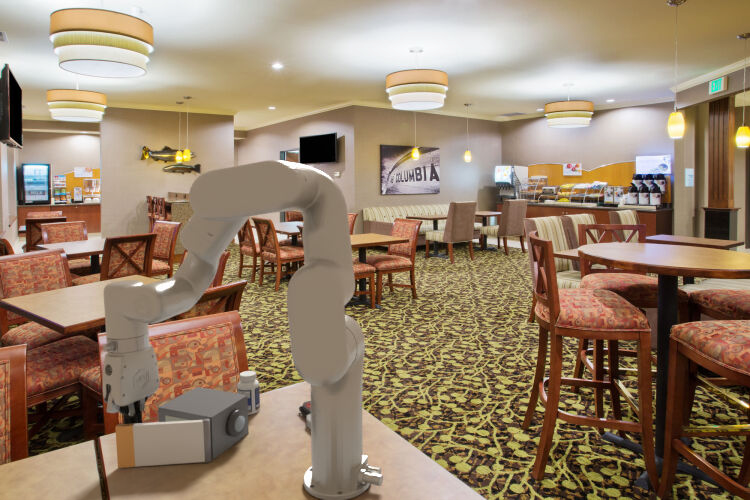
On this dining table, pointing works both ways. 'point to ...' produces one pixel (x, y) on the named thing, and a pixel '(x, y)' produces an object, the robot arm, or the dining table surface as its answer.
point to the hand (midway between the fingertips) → (133, 431)
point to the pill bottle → (250, 390)
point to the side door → (163, 443)
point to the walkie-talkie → (306, 412)
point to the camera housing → (211, 415)
